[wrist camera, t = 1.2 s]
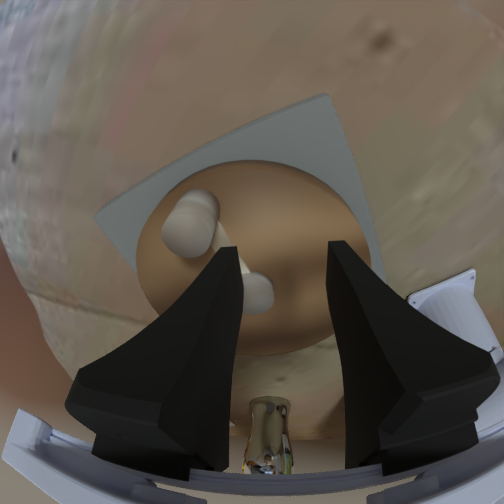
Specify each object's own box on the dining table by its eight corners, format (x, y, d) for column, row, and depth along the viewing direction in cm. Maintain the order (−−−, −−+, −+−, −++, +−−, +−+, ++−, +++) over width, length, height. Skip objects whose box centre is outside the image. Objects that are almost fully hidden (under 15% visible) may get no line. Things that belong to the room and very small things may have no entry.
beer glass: (262, 414, 41) (258, 498, 29) (237, 400, 38) (228, 493, 25) (301, 406, 38) (302, 496, 26) (279, 391, 35) (276, 494, 23)
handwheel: (379, 306, 22) (394, 353, 18) (216, 351, 27) (208, 395, 23) (319, 116, 14) (340, 135, 10) (106, 223, 19) (72, 265, 15)
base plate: (386, 294, 24) (391, 307, 22) (215, 343, 29) (213, 356, 28) (323, 92, 15) (328, 94, 13) (102, 206, 20) (92, 217, 19)
